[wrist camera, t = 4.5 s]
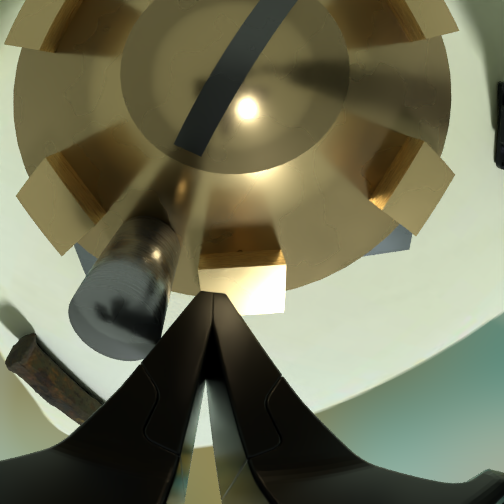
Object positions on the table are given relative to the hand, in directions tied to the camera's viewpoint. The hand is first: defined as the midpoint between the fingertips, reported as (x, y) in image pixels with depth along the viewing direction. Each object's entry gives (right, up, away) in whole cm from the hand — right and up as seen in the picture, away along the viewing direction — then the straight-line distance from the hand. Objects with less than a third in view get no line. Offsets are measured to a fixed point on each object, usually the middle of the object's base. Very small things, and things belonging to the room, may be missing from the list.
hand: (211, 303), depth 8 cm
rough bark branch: (-14, -12, +14) cm, 24 cm away
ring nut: (0, +8, +1) cm, 8 cm away
